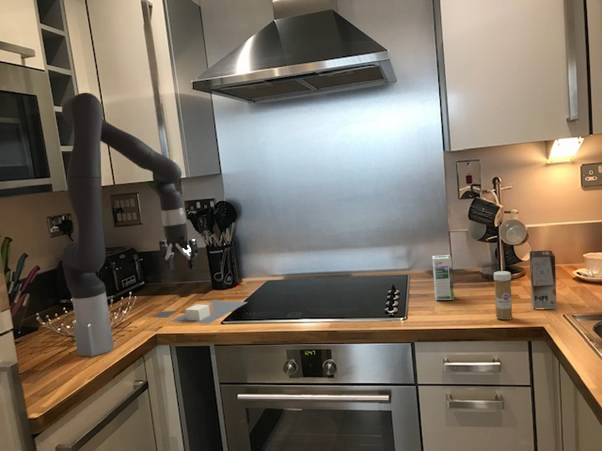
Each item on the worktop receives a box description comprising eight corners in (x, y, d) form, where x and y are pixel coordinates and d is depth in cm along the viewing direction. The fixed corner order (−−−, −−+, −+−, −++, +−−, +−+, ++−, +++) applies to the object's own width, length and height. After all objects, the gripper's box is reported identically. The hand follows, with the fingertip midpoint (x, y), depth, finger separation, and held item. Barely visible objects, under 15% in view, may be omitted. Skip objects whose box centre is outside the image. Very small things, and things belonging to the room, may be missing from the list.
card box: (199, 320, 170) (198, 310, 169) (186, 319, 172) (185, 309, 172) (213, 313, 177) (212, 303, 176) (201, 312, 179) (199, 302, 179)
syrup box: (436, 301, 167) (433, 258, 165) (434, 296, 173) (432, 255, 171) (454, 301, 166) (451, 257, 164) (452, 296, 172) (449, 254, 170)
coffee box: (557, 310, 148) (555, 256, 146) (533, 309, 150) (531, 256, 148) (553, 301, 157) (551, 249, 155) (530, 300, 159) (528, 250, 157)
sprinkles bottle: (502, 321, 143) (500, 275, 141) (492, 317, 147) (490, 272, 145) (516, 319, 144) (514, 272, 142) (505, 314, 148) (503, 269, 147)
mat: (209, 324, 165) (208, 323, 165) (170, 322, 173) (170, 320, 173) (248, 303, 187) (248, 302, 187) (212, 301, 194) (212, 300, 194)
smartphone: (138, 325, 171) (160, 311, 186) (139, 328, 171) (160, 313, 186) (157, 325, 169) (177, 310, 184) (157, 327, 170) (178, 313, 184)
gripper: (150, 225, 168) (157, 272, 170) (184, 223, 162) (192, 273, 164) (165, 221, 175) (172, 267, 177) (198, 219, 169) (205, 267, 171)
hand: (181, 269), depth 171 cm, fingers open, 8 cm apart
